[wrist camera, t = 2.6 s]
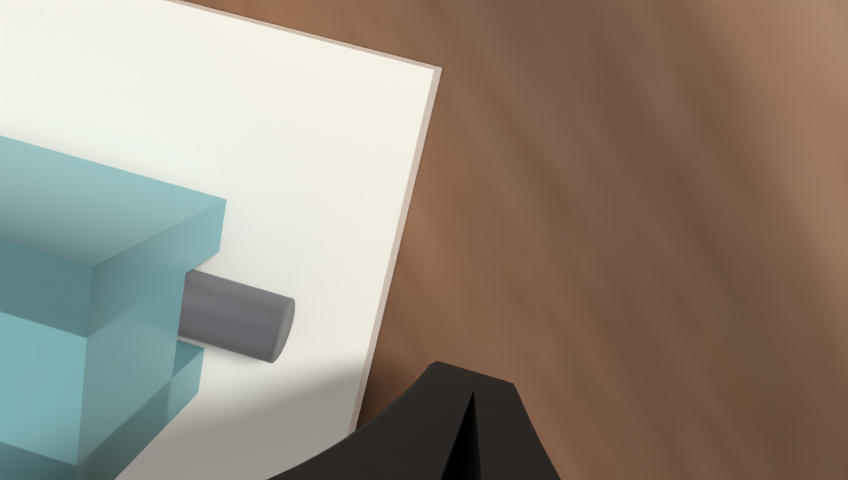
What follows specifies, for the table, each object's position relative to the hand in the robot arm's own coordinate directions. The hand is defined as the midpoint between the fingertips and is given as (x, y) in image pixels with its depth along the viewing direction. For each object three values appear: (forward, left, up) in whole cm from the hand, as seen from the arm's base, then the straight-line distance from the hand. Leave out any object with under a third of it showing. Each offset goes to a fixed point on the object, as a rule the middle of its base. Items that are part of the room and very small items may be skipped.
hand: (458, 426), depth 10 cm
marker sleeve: (0, +7, -2) cm, 8 cm away
